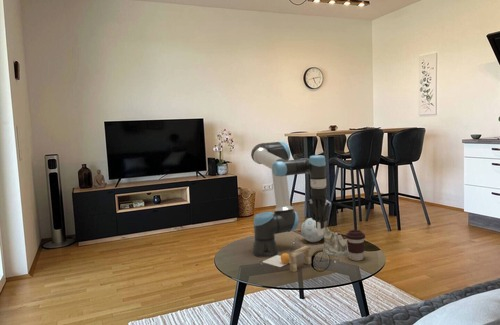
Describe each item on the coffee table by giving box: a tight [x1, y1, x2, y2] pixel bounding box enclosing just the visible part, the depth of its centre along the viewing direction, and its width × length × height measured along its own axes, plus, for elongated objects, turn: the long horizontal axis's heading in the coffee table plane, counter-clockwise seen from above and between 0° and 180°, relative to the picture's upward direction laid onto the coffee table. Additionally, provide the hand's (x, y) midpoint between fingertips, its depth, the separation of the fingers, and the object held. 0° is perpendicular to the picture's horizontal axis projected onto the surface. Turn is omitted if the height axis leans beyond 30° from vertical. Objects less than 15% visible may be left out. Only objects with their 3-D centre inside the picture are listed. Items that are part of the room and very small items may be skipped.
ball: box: [280, 252, 290, 265], centre depth 199 cm, size 6×6×6 cm
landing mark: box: [262, 254, 290, 268], centre depth 203 cm, size 13×13×1 cm
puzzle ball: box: [300, 217, 326, 243], centre depth 233 cm, size 15×15×15 cm
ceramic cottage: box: [322, 227, 349, 258], centre depth 213 cm, size 16×16×15 cm
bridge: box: [288, 245, 312, 273], centre depth 192 cm, size 3×14×9 cm, turn 136°
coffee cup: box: [345, 229, 366, 262], centre depth 199 cm, size 10×10×15 cm
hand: (320, 234), depth 182 cm, fingers closed
